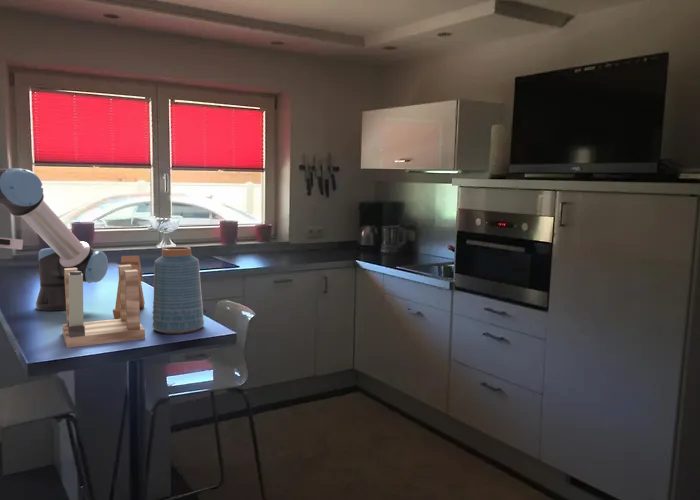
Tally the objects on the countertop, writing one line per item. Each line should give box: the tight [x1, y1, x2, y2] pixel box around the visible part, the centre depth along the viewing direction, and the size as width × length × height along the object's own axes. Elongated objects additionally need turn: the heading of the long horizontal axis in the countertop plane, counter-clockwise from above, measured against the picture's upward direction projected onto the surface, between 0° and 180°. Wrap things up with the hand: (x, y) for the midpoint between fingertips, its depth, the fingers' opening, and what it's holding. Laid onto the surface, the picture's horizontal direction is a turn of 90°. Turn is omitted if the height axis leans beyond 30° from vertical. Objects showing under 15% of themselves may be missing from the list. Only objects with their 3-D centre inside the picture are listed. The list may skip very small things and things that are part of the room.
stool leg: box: [69, 271, 84, 327], centre depth 179 cm, size 4×4×17 cm
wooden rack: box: [62, 264, 146, 349], centre depth 189 cm, size 18×22×21 cm
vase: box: [152, 246, 205, 335], centre depth 198 cm, size 16×16×27 cm
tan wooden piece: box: [112, 255, 145, 319], centre depth 218 cm, size 7×23×25 cm
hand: (22, 244), depth 175 cm, fingers closed
